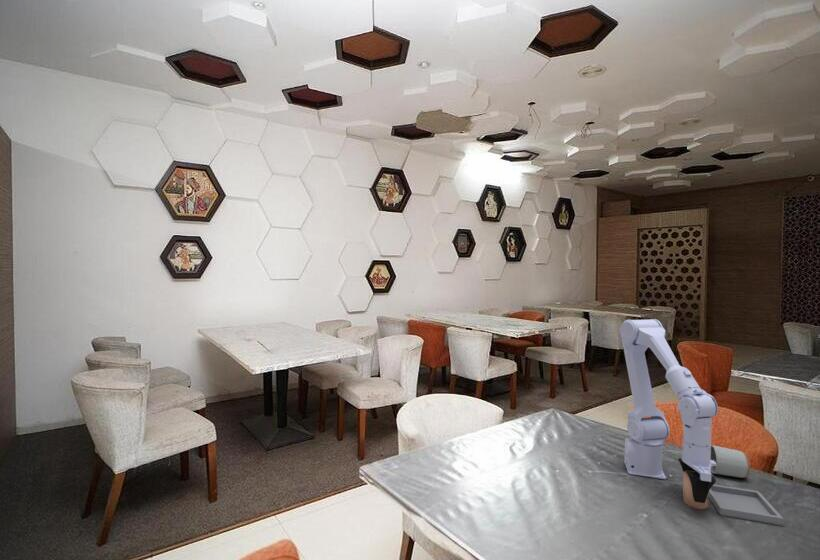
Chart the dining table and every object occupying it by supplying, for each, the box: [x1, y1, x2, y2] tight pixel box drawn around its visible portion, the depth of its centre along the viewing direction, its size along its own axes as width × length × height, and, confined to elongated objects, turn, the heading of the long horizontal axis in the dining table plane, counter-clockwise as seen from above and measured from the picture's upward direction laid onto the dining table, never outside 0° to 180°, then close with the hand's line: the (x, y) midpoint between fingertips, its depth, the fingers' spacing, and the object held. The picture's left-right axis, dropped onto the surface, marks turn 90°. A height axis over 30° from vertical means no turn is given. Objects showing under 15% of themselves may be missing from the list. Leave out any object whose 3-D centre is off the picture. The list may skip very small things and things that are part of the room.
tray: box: [708, 484, 785, 527], centre depth 100 cm, size 12×12×2 cm
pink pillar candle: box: [682, 471, 709, 510], centre depth 102 cm, size 5×5×7 cm
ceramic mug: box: [710, 444, 751, 479], centre depth 117 cm, size 11×8×8 cm
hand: (695, 495), depth 102 cm, fingers closed on pink pillar candle, 5 cm apart
